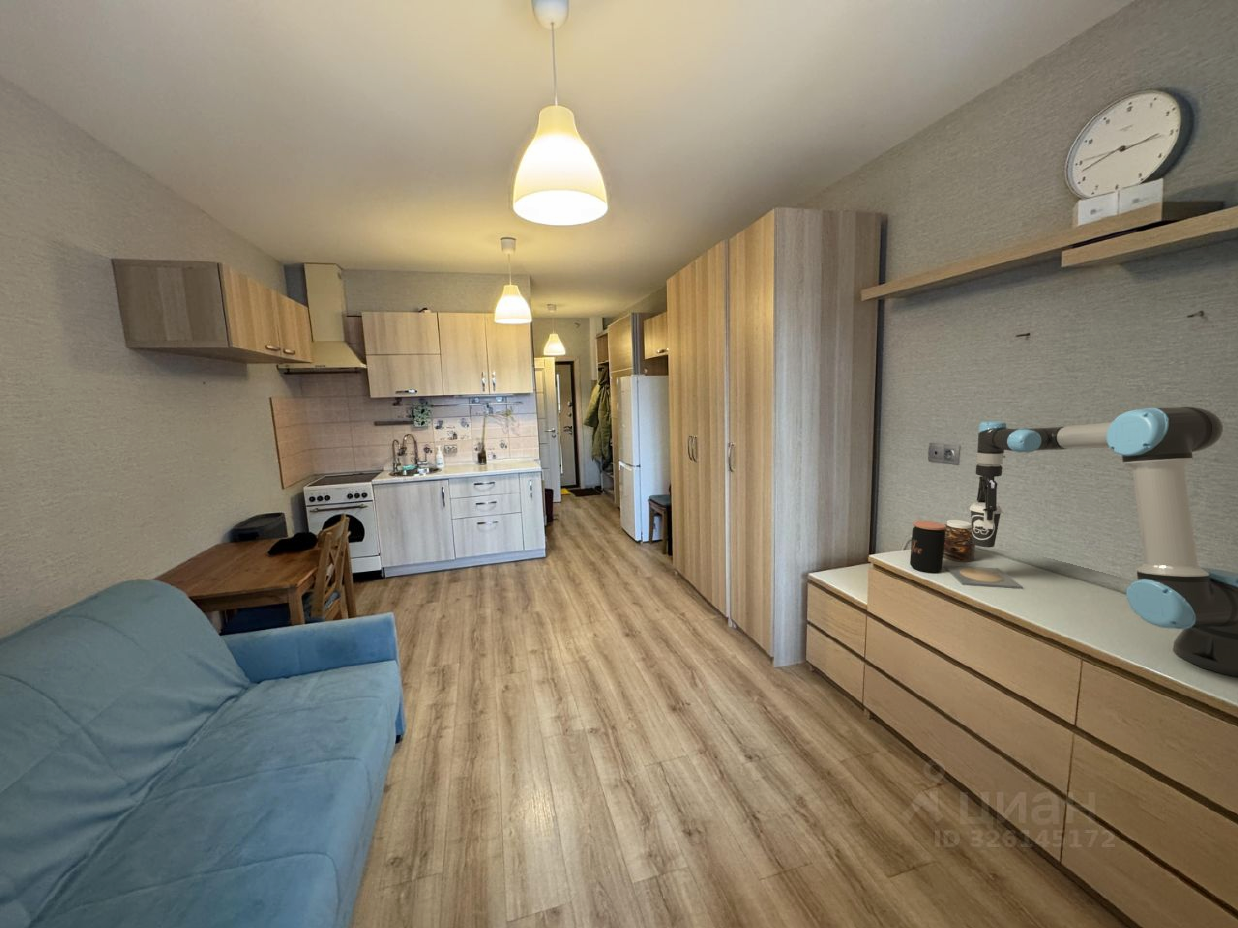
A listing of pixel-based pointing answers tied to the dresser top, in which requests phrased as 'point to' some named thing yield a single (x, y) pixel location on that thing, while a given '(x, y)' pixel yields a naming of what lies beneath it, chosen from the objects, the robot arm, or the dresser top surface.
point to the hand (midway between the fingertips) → (984, 524)
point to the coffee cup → (979, 533)
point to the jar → (958, 541)
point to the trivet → (982, 576)
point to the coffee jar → (927, 546)
